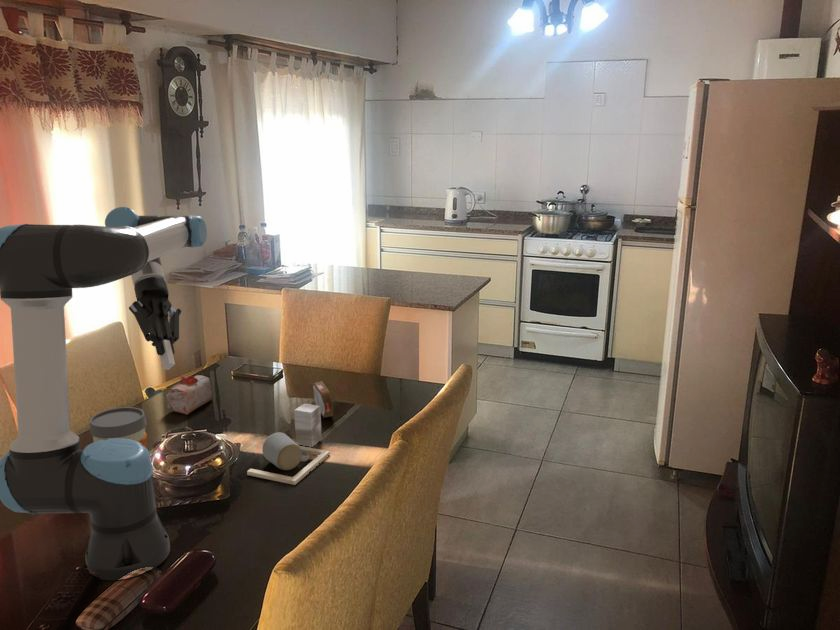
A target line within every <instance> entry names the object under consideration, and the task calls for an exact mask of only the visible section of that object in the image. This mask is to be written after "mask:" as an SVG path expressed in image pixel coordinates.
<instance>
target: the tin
mask: <svg viewBox="0 0 840 630" xmlns="http://www.w3.org/2000/svg"><path fill="white" fill-rule="evenodd" d="M312 389H313V400H314V403H315V404H314V405H317V406H320V412H321V416H322V418H329V417H333V415H334V405H333V401H332V396H331V393H330V391H329V389H328V388H327V386H326V385H325V384H324V382H323V381H322V380H320V381H317V382H314V383H312Z"/></svg>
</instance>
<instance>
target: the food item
mask: <svg viewBox="0 0 840 630" xmlns="http://www.w3.org/2000/svg"><path fill="white" fill-rule="evenodd" d="M179 381H180V383H177V384H175V385H174V386H172V387H171V388H170V389H169V391H168V392H167V393H166V396H165V397H166V404H167V405H166V407H167V408H168V410H169V411H170V410H171V411H173V412H176V413H179V414H183V415H188V416H189V414H191V413H192V412H194V411H195V410H197V409H198V408H200V407H202V406H204V405H205V404H207V403H208V402H210V401H212V400H213V398H214V397H213V393H212V392H213V391H212V385H211V380H210V378H209V377H207V376H204V375H201V374H200V375H199V374H197V375H194V376H192V375H191V376H187V377H184V376H181V377H180V380H179Z"/></svg>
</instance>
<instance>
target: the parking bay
mask: <svg viewBox="0 0 840 630" xmlns="http://www.w3.org/2000/svg"><path fill="white" fill-rule="evenodd" d="M298 446H299V447H300V449H301V450H304V451H305V452H307V453H310V454H309V455H313V454H315V455H314V456H316V457H315V458H314V459H313V460H312V461H310V462H309V463H307V465H306V466H304V467H303V468H301V470H299V471H298V472H297V473H296V474H295V475H294V476H290V475H289V476H288V475H283V474H280V473H274V472H269V471H264V470H260V469H255V468H249V469H248V470H246V475H247V476H251V477H256V478H259V479H260V478H261V479H265V480H270V481H275V482H280V483H283V484H284V483H285V484H287V485H288V484H289V485H294V486H296V485H297V484H298V483H299V482H300V481H301V480H303V479H304V478H305V477H306V476H307V475H309V474H310V473H311V472H312V471H313V470H314V469H315V468H317V467H318V466H319V465H320V464H321V463H322V462H323V460H324V459H325V458H326V457H327V456H328V455H329V454H330V455H331V451H330V450H325V449H320V448H314V447H313V448H311V447H305V446H300V445H298ZM318 455H319V456H318ZM330 455H329V456H330ZM329 456H328V457H329ZM328 457H327V458H328ZM327 458H326V459H327ZM326 459H325V460H326ZM325 460H324V461H325ZM319 463H320V464H319ZM316 466H317V467H316ZM310 471H311V472H310ZM309 472H310V473H309Z"/></svg>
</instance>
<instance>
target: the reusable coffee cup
mask: <svg viewBox="0 0 840 630" xmlns="http://www.w3.org/2000/svg"><path fill="white" fill-rule="evenodd" d="M146 427H147V419H146V414H145V411H144V410H143V409H141V408H139V407H133V406H132V407H131V406H123V407H114V408H111V409H110V408H109V409H106V410H103V411H101V412H98V413H96V414H94V415H93V416H91V418H90V420H89V434H90V436H92V438H93V441H92V443H93V442H96V441H99V440H107V439H110V438H124V439H131V440H134V441H137V442H139V443H141V444H142V445H144V446H145V447H146V448H147V441H148V440H147V436H148V433H147V432H146Z"/></svg>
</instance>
